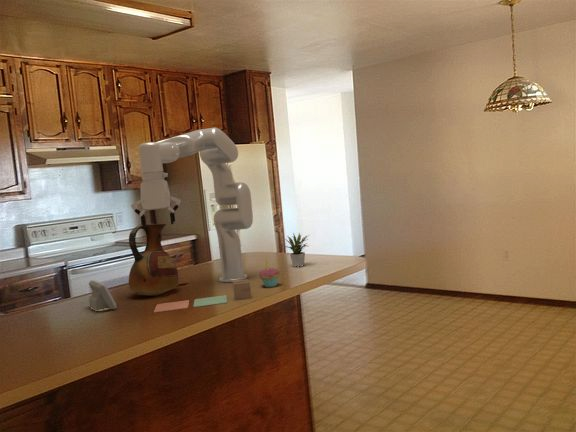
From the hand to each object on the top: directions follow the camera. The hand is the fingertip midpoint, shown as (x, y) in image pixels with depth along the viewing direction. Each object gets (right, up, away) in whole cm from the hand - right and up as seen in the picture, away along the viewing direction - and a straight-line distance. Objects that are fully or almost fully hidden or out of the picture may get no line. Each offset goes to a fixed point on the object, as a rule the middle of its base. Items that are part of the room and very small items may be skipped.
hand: (158, 225), depth 186 cm
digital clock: (-24, -32, +14) cm, 43 cm away
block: (+29, -27, +8) cm, 41 cm away
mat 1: (+4, -30, +4) cm, 30 cm away
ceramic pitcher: (-9, -29, +31) cm, 44 cm away
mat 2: (+18, -28, +6) cm, 34 cm away
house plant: (+52, -21, +60) cm, 82 cm away
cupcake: (+39, -25, +23) cm, 52 cm away
